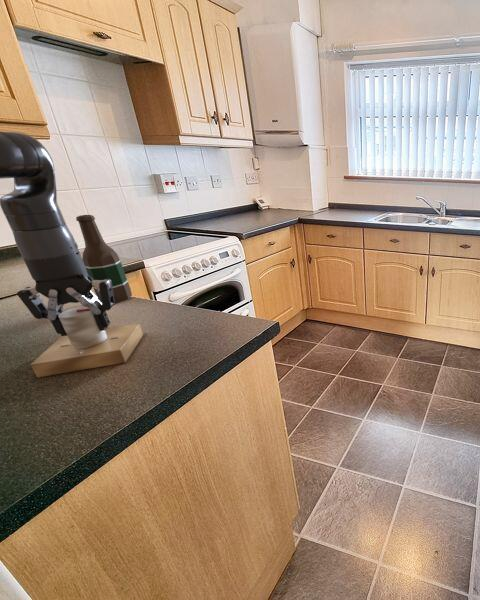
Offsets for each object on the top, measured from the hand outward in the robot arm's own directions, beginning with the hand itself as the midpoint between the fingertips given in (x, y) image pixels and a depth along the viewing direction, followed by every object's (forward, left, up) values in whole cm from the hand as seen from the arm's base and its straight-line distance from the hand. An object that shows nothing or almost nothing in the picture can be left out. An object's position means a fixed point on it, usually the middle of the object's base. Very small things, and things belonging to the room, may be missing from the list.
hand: (86, 331), depth 69 cm
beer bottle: (-7, +34, -6) cm, 35 cm away
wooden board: (0, 0, -6) cm, 6 cm away
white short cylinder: (0, 0, -2) cm, 2 cm away
